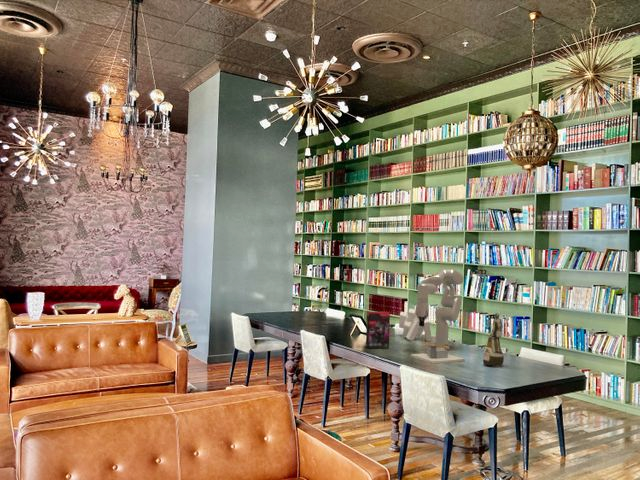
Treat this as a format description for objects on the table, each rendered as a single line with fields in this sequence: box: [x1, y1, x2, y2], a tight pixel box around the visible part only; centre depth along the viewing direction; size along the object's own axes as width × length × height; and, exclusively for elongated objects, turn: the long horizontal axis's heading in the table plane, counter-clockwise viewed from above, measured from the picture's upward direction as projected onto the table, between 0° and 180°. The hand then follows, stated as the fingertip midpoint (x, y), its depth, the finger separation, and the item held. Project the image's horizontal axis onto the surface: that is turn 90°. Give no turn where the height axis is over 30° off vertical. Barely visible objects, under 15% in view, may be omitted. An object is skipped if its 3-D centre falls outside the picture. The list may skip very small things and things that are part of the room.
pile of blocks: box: [398, 308, 433, 342], centre depth 429 cm, size 35×30×35 cm
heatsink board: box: [410, 345, 466, 365], centre depth 350 cm, size 28×24×10 cm
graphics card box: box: [365, 310, 391, 349], centre depth 381 cm, size 17×7×27 cm, turn 101°
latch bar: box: [423, 342, 450, 349], centre depth 356 cm, size 18×3×3 cm, turn 67°
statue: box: [482, 312, 505, 367], centre depth 336 cm, size 16×11×35 cm, turn 118°
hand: (421, 326), depth 366 cm, fingers closed
